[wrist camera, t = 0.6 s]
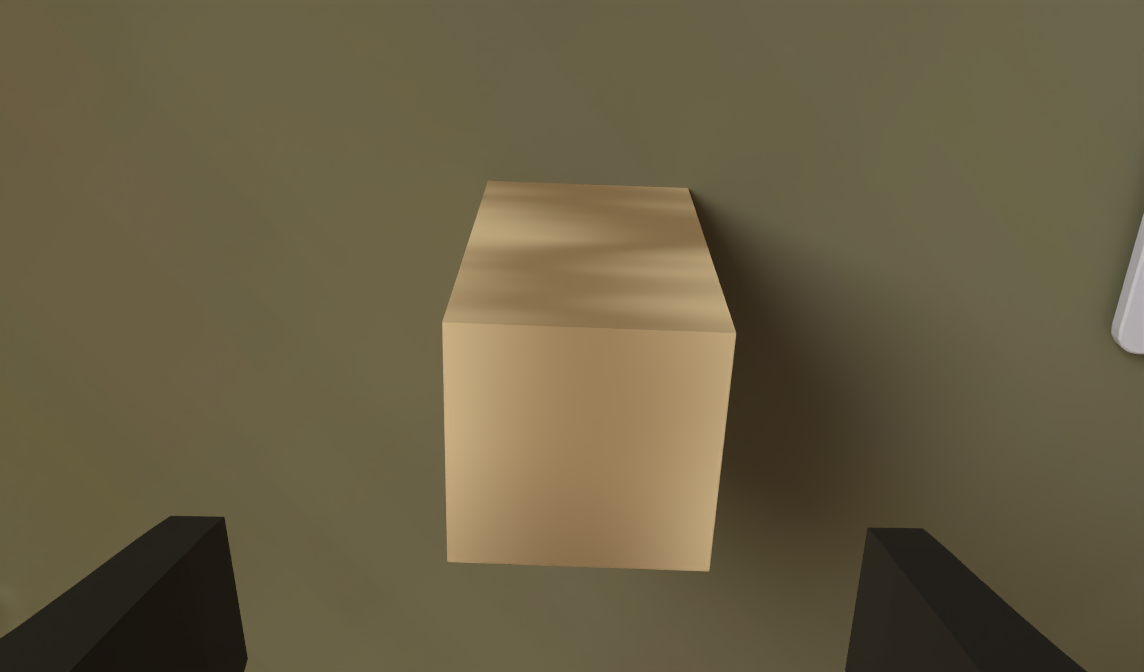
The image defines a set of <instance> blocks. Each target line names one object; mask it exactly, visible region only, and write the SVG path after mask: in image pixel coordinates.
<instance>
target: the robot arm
mask: <svg viewBox="0 0 1144 672" xmlns="http://www.w3.org/2000/svg"><path fill="white" fill-rule="evenodd" d="M1111 334H1112V336H1113V339H1114V341H1115V342H1116V343H1117V344H1119V345H1120V346H1121V347H1122V348H1123V349H1125V350H1126V351H1127V352H1130V353H1134V354H1144V214H1143V218H1142V221H1141V225H1140V228H1139V232H1138V235H1137V239H1136V242H1135V246H1134V249H1133V253H1132V256H1131V260H1130V263H1129V267H1128V270H1127V274H1126V277H1125V281H1124V284H1123V288H1122V291H1121V295H1120V298H1119V302H1118V305H1117V309H1116V313H1115V316H1114V320H1113V323H1112V331H1111ZM247 659H248V658H247V652H246V646H245V640H244V634H243V627H242V621H241V615H240V609H239V603H238V597H237V591H236V585H235V579H234V573H233V567H232V561H231V555H230V549H229V542H228V536H227V530H226V524H225V518H224V517H202V516H170V517H168V518H167V519H165V520H164V521H162V522H161V523H159V524H158V525H156V526H155V527H153V528H152V529H150V530H149V531H148V532H146V533H145V534H143V535H142V536H141V537H139V538H138V539H136V540H135V541H134V542H132V543H131V544H130V545H128V546H127V547H126V548H124V549H123V550H121V551H120V552H119V553H117V554H116V555H115V556H113V557H112V558H111V559H109V560H108V561H107V562H105V563H104V564H103V565H101V566H100V567H99V568H97V569H96V570H95V571H93V572H92V573H91V574H89V575H88V576H87V577H85V578H84V579H83V580H81V581H80V582H78V583H77V584H76V585H74V586H73V587H72V588H70V589H69V590H67V591H66V592H65V593H63V594H62V595H61V596H59V597H58V598H57V599H55V600H54V601H52V602H51V603H50V604H48V605H47V606H46V607H44V608H43V609H41V610H40V611H39V612H37V613H36V614H35V615H33V616H32V617H30V618H29V619H28V620H26V621H25V622H24V623H22V624H21V625H19V626H18V627H17V628H15V629H14V630H12V631H11V632H9V633H8V634H6V635H5V636H3V637H2V638H0V672H244V670H245V666H246V663H247ZM845 671H846V672H1087V671H1085V670H1084V669H1083V668H1082V667H1080V666H1079V665H1078V664H1077V663H1076V662H1074V661H1073V660H1072V659H1071V658H1069V657H1068V656H1067V655H1066V654H1065V653H1064V652H1062V651H1061V650H1060V649H1059V648H1058V647H1056V646H1055V645H1054V644H1053V643H1052V642H1050V641H1049V640H1048V639H1047V638H1046V637H1045V636H1044V635H1042V634H1041V633H1040V632H1039V631H1038V630H1037V629H1035V628H1034V627H1033V626H1032V625H1031V624H1030V623H1028V622H1027V621H1026V620H1025V619H1024V618H1023V617H1022V616H1021V615H1019V614H1018V613H1017V612H1016V611H1015V610H1014V609H1013V608H1011V607H1010V606H1009V605H1008V604H1007V603H1006V602H1005V601H1004V600H1003V599H1001V598H1000V597H999V596H998V595H997V594H996V593H995V592H994V591H993V590H991V589H990V588H989V587H988V586H987V585H986V584H985V583H984V582H983V581H981V580H980V579H979V578H978V577H977V576H976V575H975V574H974V573H973V572H972V571H970V570H969V569H968V568H967V567H966V566H965V565H964V564H963V563H962V562H960V561H959V560H958V559H957V558H956V557H955V556H954V555H953V554H952V553H951V552H949V551H948V550H947V549H946V548H945V547H944V546H943V545H942V544H940V543H939V542H938V541H937V540H936V539H935V538H934V537H932V536H931V535H930V534H929V533H928V532H926V531H925V530H924V529H918V528H868V529H867V535H866V542H865V548H864V554H863V561H862V567H861V573H860V580H859V586H858V592H857V599H856V605H855V611H854V618H853V624H852V630H851V637H850V643H849V649H848V656H847V662H846V668H845Z"/></svg>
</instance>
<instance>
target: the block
mask: <svg viewBox="0 0 1144 672" xmlns="http://www.w3.org/2000/svg"><path fill="white" fill-rule="evenodd" d="M442 325H443V373H444V421H445V470H446V518H447V562H466V563H494V564H521V565H549V566H576V567H604V568H632V569H659V570H687V571H709V568H710V559H711V550H712V542H713V533H714V524H715V515H716V506H717V498H718V489H719V480H720V471H721V462H722V454H723V445H724V436H725V427H726V418H727V410H728V401H729V392H730V383H731V375H732V366H733V357H734V348H735V339H736V331H735V328H734V325H733V322H732V319H731V316H730V313H729V310H728V307H727V304H726V301H725V298H724V295H723V292H722V289H721V286H720V283H719V280H718V277H717V274H716V271H715V268H714V265H713V262H712V259H711V256H710V253H709V250H708V247H707V244H706V241H705V238H704V235H703V232H702V229H701V226H700V223H699V219H698V216H697V213H696V210H695V207H694V204H693V201H692V198H691V195H690V192H689V189H688V188H666V187H639V186H613V185H586V184H559V183H532V182H506V181H488V183H487V186H486V189H485V192H484V195H483V198H482V201H481V204H480V208H479V211H478V214H477V217H476V220H475V223H474V226H473V229H472V232H471V235H470V239H469V242H468V245H467V248H466V251H465V254H464V257H463V260H462V263H461V266H460V269H459V273H458V276H457V279H456V282H455V285H454V288H453V291H452V294H451V297H450V300H449V304H448V307H447V310H446V313H445V316H444V319H443V322H442Z"/></svg>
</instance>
